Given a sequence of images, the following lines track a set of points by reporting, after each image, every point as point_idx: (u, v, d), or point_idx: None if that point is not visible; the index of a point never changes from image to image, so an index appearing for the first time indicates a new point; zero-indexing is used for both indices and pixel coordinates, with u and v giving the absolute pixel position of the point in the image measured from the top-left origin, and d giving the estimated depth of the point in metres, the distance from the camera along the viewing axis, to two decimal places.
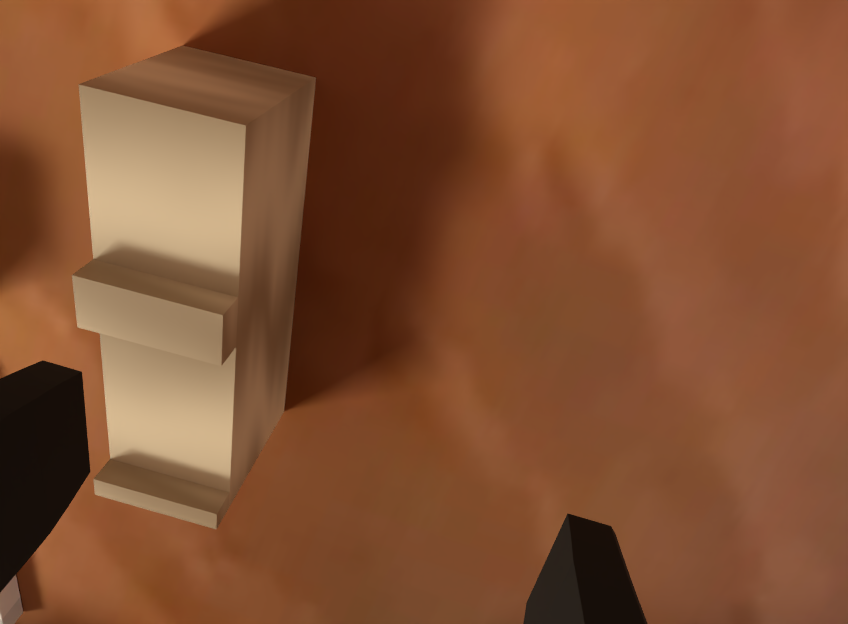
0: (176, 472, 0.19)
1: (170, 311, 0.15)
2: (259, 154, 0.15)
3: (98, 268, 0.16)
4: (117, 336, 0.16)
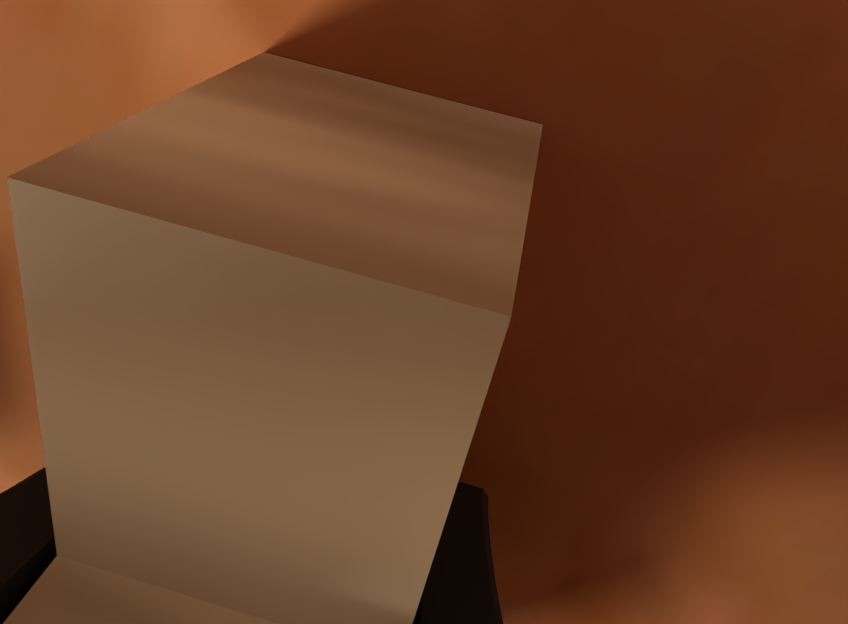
0: None
1: None
2: None
3: (68, 592, 0.07)
4: None
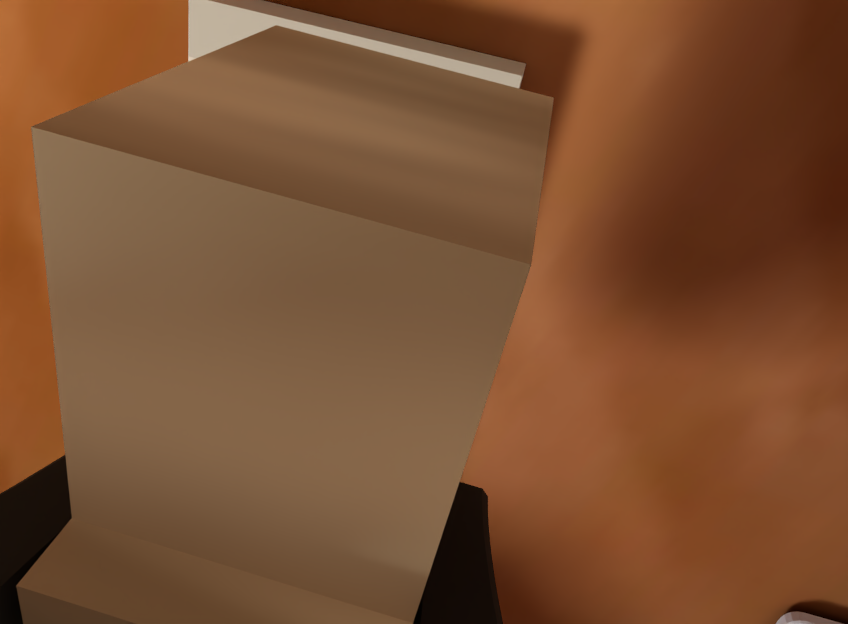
0: None
1: None
2: None
3: (83, 552, 0.07)
4: None
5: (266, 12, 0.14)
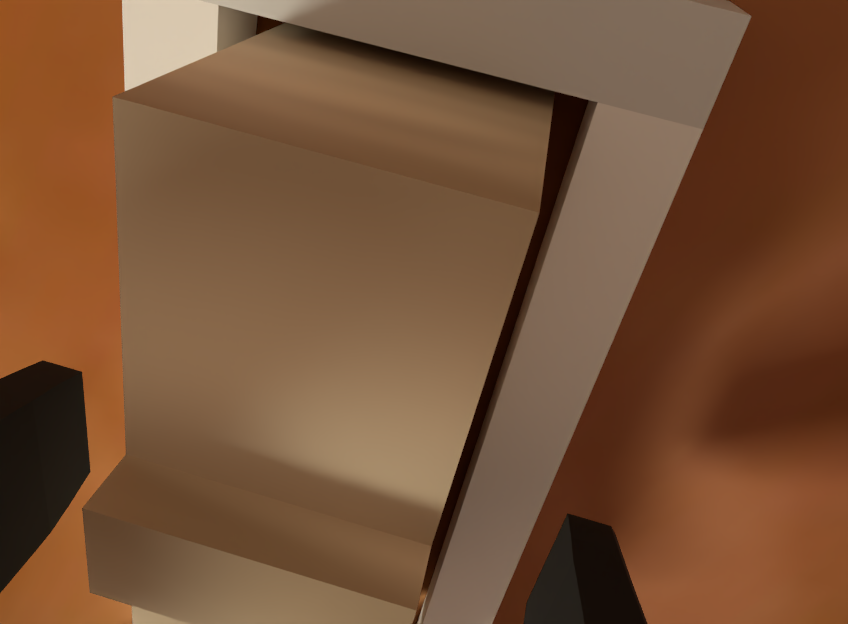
0: None
1: (296, 591, 0.07)
2: None
3: (139, 483, 0.07)
4: (173, 616, 0.08)
5: None
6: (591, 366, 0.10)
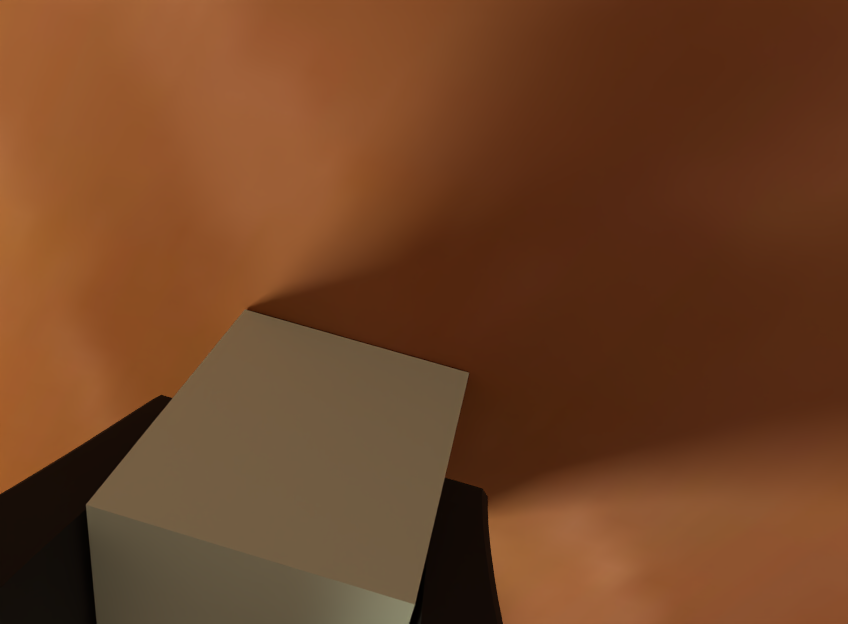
0: None
1: None
2: None
3: None
4: None
5: None
6: None
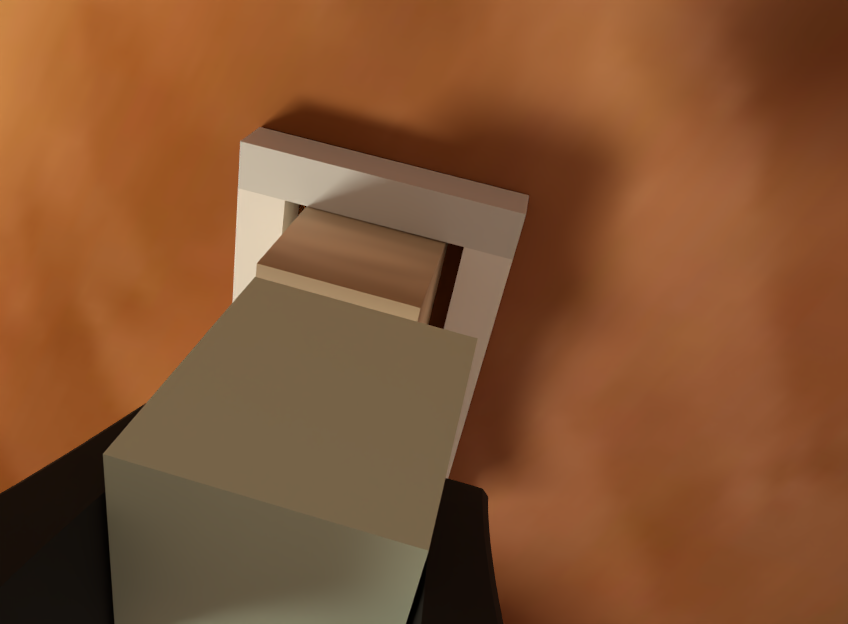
0: None
1: None
2: (420, 321, 0.15)
3: None
4: None
5: (306, 155, 0.16)
6: (475, 370, 0.18)
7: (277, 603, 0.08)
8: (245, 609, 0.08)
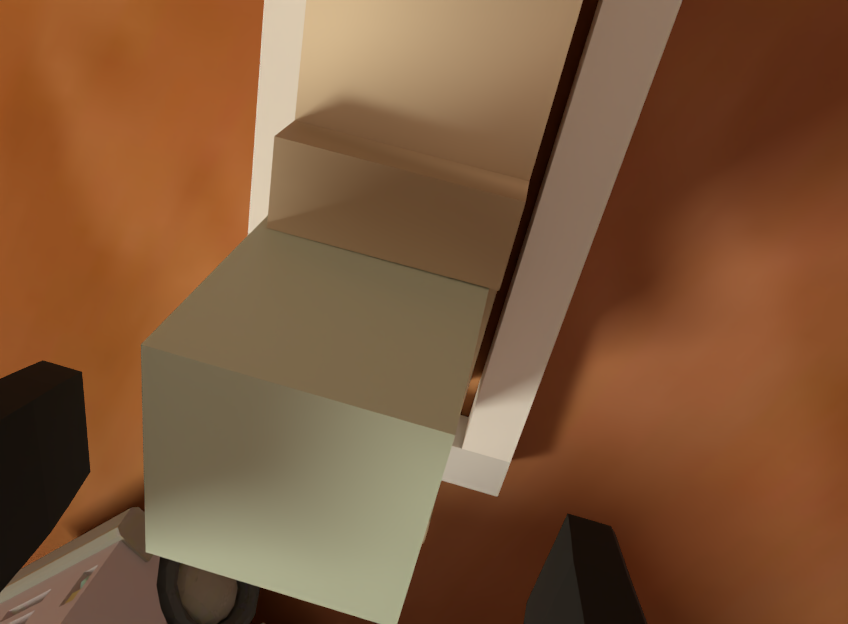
0: None
1: (433, 197, 0.09)
2: None
3: (309, 131, 0.10)
4: (332, 242, 0.10)
5: None
6: (632, 111, 0.12)
7: (306, 499, 0.08)
8: (273, 506, 0.08)
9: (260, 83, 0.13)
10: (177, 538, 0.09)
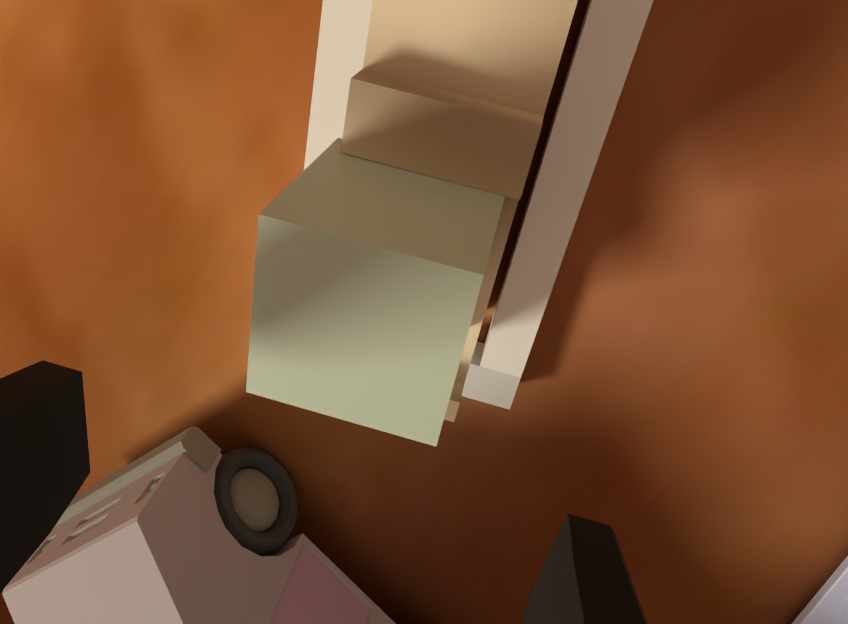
0: None
1: (471, 124, 0.12)
2: None
3: (375, 76, 0.13)
4: (391, 163, 0.13)
5: None
6: (622, 69, 0.15)
7: (372, 336, 0.11)
8: (347, 343, 0.11)
9: (319, 49, 0.16)
10: (272, 377, 0.12)
